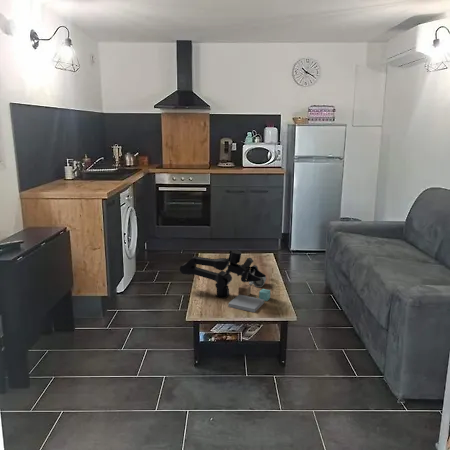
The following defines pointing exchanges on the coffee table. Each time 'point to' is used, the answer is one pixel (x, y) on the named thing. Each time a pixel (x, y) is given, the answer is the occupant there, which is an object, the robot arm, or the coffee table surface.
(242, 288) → the walnut block
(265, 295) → the teal block
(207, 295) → the coffee table surface
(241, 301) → the base plate
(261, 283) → the ceramic mug
